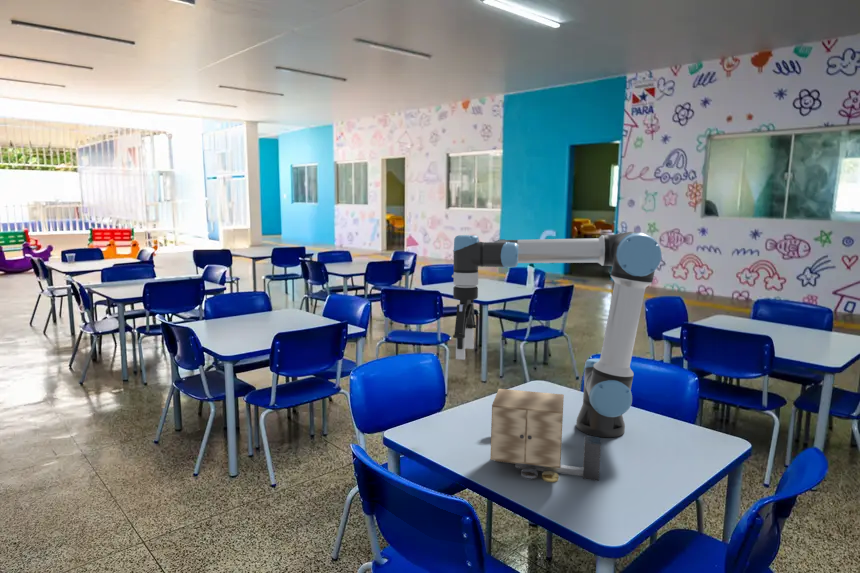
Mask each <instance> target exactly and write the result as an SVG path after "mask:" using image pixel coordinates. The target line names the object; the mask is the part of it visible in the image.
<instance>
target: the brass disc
mask: <svg viewBox="0 0 860 573" xmlns="http://www.w3.org/2000/svg"><path fill="white" fill-rule="evenodd" d="M559 477H560V476H559V473H555V472H552V471H542V473H541V479H542V480H543V481H544V482H547V483H556V482H558V481H559Z"/></svg>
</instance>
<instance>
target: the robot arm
mask: <svg viewBox="0 0 860 573" xmlns="http://www.w3.org/2000/svg"><path fill="white" fill-rule="evenodd" d="M452 252H453V274H452V275H451V278H453V285H454V287H453V291H452V293H453V294H452V295H453V299H455V300H459V303H458V304H457V305H456V316H455V325H454V334H453V335H452V338H453V339H455V360H463V361H465V360H466V349H468V350H469V349H470V350H474V348H475V347H474V343H475V342H474V341H475V340H474V337H475V336H474V335H475V334H474V333H475V331H474V329H477V325H476V317H475V307H474V301H475V300H477V299H478V298H479V288H478V285H479V268H483V267H485V268H505V269H508V268H517V266H518V264H550V263H551V264H566V263H567V264H571V263H572V264H573V263H576V264H577V263H579V264H581V263H582V264H584V263H593V264H594V263H597V264H599V265H601V267H602V266H604V267H605V266H606V267H607V266H608V267H611V271H610V277H611V279H612V280H613V282H614V284H613V291H612V294H611V295H612V296H611V298H610V299H611V300H610V305H609V310H608V315H607V322H606V327H605V331H604V338H603V342H602V346H601V351H600V352H601V353H600V357H599V358H588V359H586V361H585V362H584V363H585V364H584V367H583V369H584V378H583V379H584V380H583V381H584V382H583V396H582V399H583V400H582V404H581V405H582V406H581V407H580V410H579V413H578V414H577V418H576V422H575V423H576V424H575V425H576V428H577V430H578V431H579V432H580V431H581V432H582V433H584V434H586V435H588V436H592V437H600V438H617V437H620V436H622V435H624V434H625V429H626V428H625V427H626V424H625V420H624V417H623V415H625V414H626V413H627V412H628V411H629V409H630V408H631V406H632V403H633V395H632V394H633V393H632V391H631V390H632V384H633V381H634V380H633V379H634V371H633V370H632V369H631V362H632V357H633V353H634V347H635V342H636V337H637V333H638V327H639V322H640V317H641V314H642V313H641V312H642V308H643V303H644V298H645V291H646V288H647V287H648V286H650V285H651V284H653V281H654V277H655V271H656V270H657V269H658V267H659V265H660V264H661V261H662V249H661V247H660V245H659V243H658V241H656V240H655V238H654V237H653V236H651V235H649V234H647V233H643V232H638V231H637V232H636V231H629V232H628V231H626V232H621V233H614V234H601V235H600V236H599V237H597V238H594V237H593V238H554V239H553V238H550V239H549V238H544V239H543V238H542V239H541V238H540V239H539V238H538V239H535V238H534V239H503V238H501V239H497V240H495V241H494V242H493V241H485V242H484V241H480V239H479V236H478V235H474V234H473V235H472V234H463V235H461V234H460V235H456V236H455V238H454V239H453V250H452Z"/></svg>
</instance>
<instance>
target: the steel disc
mask: <svg viewBox="0 0 860 573" xmlns="http://www.w3.org/2000/svg"><path fill="white" fill-rule="evenodd" d="M538 475H539V474H538V471H537V470H533V469H521V470H520V476H521V477H522V478H523V479H525V480H531V481H532V480H536V479H537V478H539V477H538Z"/></svg>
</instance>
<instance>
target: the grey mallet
mask: <svg viewBox="0 0 860 573" xmlns="http://www.w3.org/2000/svg"><path fill="white" fill-rule="evenodd" d="M583 439H584V444H583V458H582V459H583V460H582V461H583V462H582V467H581V466H574V465H573V466H572V465H565V464H561V465H560V468H555V467H547V466H539V465H530V464H522V463H516V464H515V469H521V470H523V469H533V470H535V471H537V472H538V471H539V472H545V471H552V472H555V473H557V474H563V475H570V476H571V475H572V476H579V477H582V479H583V480H589V481H596V482H598V481H600V467H601V465H600V464H601V451H602V450H601V449H602V444H601V437H598V436H593V435H584V438H583Z"/></svg>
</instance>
